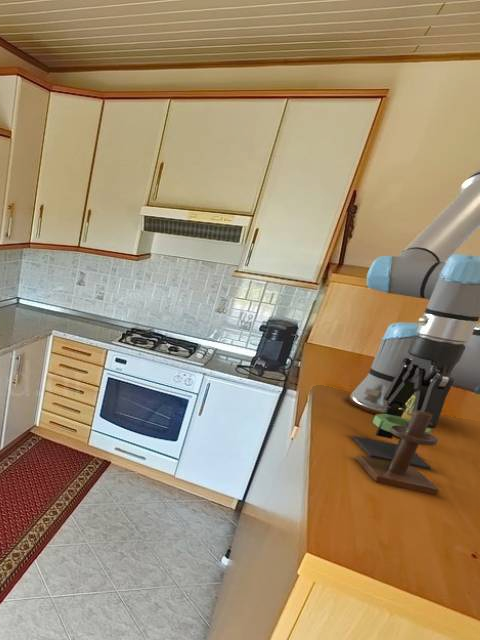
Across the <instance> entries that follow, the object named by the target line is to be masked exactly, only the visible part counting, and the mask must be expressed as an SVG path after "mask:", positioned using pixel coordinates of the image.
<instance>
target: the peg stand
mask: <svg viewBox="0 0 480 640" xmlns="http://www.w3.org/2000/svg"><path fill="white" fill-rule="evenodd" d="M432 416H433V415H432V414H430V413H428V412H425V411H420V410H415V412H414V414H413V416H412V418H411V420H410V423H409V425H408V427H405V426H392V427H391V430H390V432H391V433H392V434H394V435H393V436H395V437H397V438H399V437H400V438H402V440H401V442H400V444H399V447H398V449H397V451H396V453H395V455H394V458H393V460H392V461H387V460H383V459H378V458H373V457H370V456H366V455H361V454H358V456H357V459H356V461H357V462H358V463H359V465H360V466H361V467H362V468H363V469H364V470H365V472H367V474H368V475H369V476H370V477H371V478H372V480H373V481H374V482H375V483H379V484H383V485H388V486H393V487H398V488H401V489H406V490H410V491H415V492H418V493H423V494H428V495H434V496H437V494H438V492H439V491H440V489H439V488H437V486H436V485H434V483H432V481H430V480H429V479H428V478H427V477H426V476H425V475H424V474H423V473H421V472H420V470H418V469H417V467H415V466H411V465H409V464H410V462H411V460H412V458H413V456H414V454H416V452H417V450H418V448H419V445H423V446H436V445H437V443H438V440H439V439H438V438H437V437H436V436H434V435H433V434H431V433H430V434H428V433H426V432H425V431H426V428H427V426H428V424H429V422H430V420H431V418H432ZM400 438H399V439H400Z"/></svg>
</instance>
